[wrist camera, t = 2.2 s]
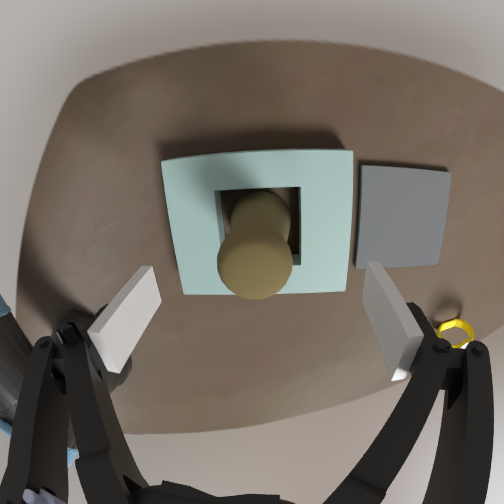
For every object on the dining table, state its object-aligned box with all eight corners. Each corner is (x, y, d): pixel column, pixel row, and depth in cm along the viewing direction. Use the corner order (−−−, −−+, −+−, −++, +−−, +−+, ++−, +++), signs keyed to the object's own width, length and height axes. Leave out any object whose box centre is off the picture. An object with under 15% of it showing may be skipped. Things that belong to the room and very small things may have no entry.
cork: (236, 185, 26) (211, 220, 16) (297, 198, 26) (312, 241, 16) (226, 241, 28) (201, 303, 19) (283, 253, 29) (287, 320, 19)
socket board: (190, 282, 31) (184, 294, 29) (170, 158, 25) (160, 161, 23) (340, 278, 29) (345, 291, 27) (345, 149, 24) (352, 150, 21)
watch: (462, 310, 31) (483, 334, 25) (459, 324, 32) (478, 348, 26) (432, 322, 31) (452, 349, 26) (429, 337, 32) (447, 363, 27)
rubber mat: (354, 266, 29) (355, 269, 28) (360, 164, 24) (362, 165, 23) (435, 262, 27) (437, 264, 27) (448, 171, 23) (451, 172, 22)
